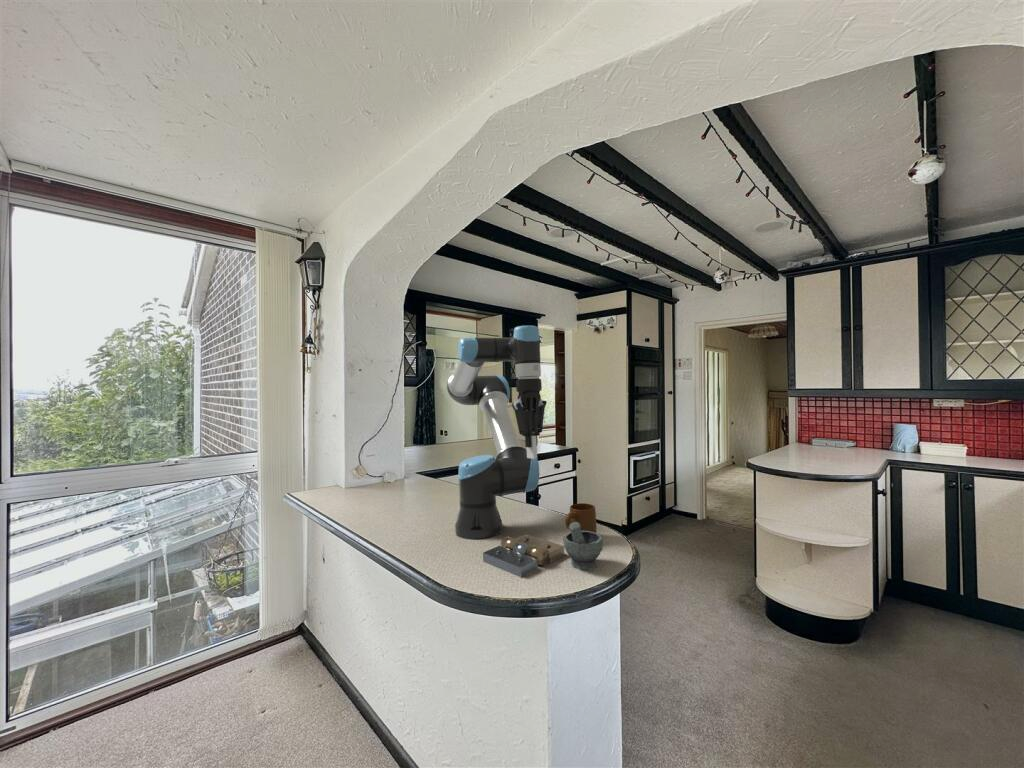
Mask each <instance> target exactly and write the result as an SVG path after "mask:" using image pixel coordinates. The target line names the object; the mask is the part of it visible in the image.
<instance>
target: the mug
mask: <svg viewBox="0 0 1024 768" xmlns="http://www.w3.org/2000/svg"><path fill="white" fill-rule="evenodd" d="M573 522H578V523H579V524H580V526H581V528H580V529H581V531H591V532H595V533H598V532H597V513H596V506H595V505H594V504H590V503H586V502H585V503H582V502H581V503H580V502H579V503H575V504H574V503H573V504H571V505H570V506H569V512H568V513H567V514H566V516H565V518H564V524H565V527H566V528H567V530H569V531H570V529H569V526H570V524H571V523H573Z"/></svg>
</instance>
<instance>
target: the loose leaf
mask: <svg viewBox="0 0 1024 768" xmlns="http://www.w3.org/2000/svg"><path fill="white" fill-rule="evenodd" d="M529 546H530V545H528V544H525V543H521V542H517V543H516V544H515V545H514V547H513V550H510V549H508V548H505V547H502V546H501V545H498V546H495V547H493V548H491V549H488V550H486V551H483V552H482V561H483V563H486V564H488V565H490V566H492V567H495V568H497V569H500V570H502V571H505V572H507V573H510V574H512V575H514V576H516V577H519V578H523V577H526V576H527V575H529V574H531V573H533V572H535V571H537V570H539V564H538V559H536V558H533V557H530V556H527V555H526V551H527V549H528V547H529Z"/></svg>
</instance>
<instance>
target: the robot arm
mask: <svg viewBox="0 0 1024 768" xmlns="http://www.w3.org/2000/svg"><path fill="white" fill-rule="evenodd" d="M540 341H541V337H540V330H539V328H538V326H536V325H519V326H515V327H514V329H513V337H474V336H471V337H463V338H460V339H459V340H458V345H457V355H458V359H459V362H458V363H457V364H458V365H457V367H456V368H455V371H454V373H453V374H451V376H450V377H449V378H448V381H447V383H446V389H447V393H448V395H449V396H450V398H451V399H452V400H454V401H455V402H456V403H458V404H460V405H463V406H479V407H478V408H479V410H480V411H481V412H483V413H485V417H486V420H487V424H488V426H489V429H490V433H491V437H492V440H493V443H494V447H495V451H496V453H497V454H496V456H495V457H494V455H492V454H485V455H476V456H473V457H469V458H466V459H464V460H463V461H461V462H460V463H459V465H458V475H457V478H458V490H459V491H458V492H459V494H458V495H459V510H458V513H457V519H456V523H455V524H454V526H455V527H454V531H455V532H454V533H455V534H456V536H458V537H460V538H464V539H470V540H471V539H472V540H474V539H477V540H478V539H486V538H491V537H494V536H496V535H498V534H500V533H501V532H503V529H504V528H503V520H502V519H501V515H500V512H499V510H498V507H497V497H498V496H504V495H505V496H506V495H511V494H512V495H513V494H520V493H521V494H522V493H523V494H525V493H527V492H533V491H535V490H536V489H537V487H538V486H539V483H540V482H539V481H540V464H539V460H538V448H537V447H538V436H539V437H540V436H541V433H542V432H543V425H544V419H545V416H544V415H545V410H546V407H547V400H543V399H542V397H541V394H540V392H541V391H542V386H543V385H542V378H540V377H542V370H541V369H542V368H541V345H540V344H541V342H540ZM488 362H492V363H493V362H494V363H495V362H510V363H515V365H514V366H515V367H514V368H515V378H516V380H515V384H516V386H515V387H516V388H515V389H516V392H517V393H518V395H517V400H516V401H515V402H512V403H511V406H512V409H513V410H514V414H515V418H516V423H517V429H518V433H519V435H521V436H522V437H524V439H525V440H524V444H525V447H524V446H521V442H520V439H519V437H518V435H517V432H516V429H515V426H514V422H513V421H512V418H511V415H510V413H509V410H508V407H507V404H508V402H509V401H510V398H511V390H510V386H509V382H508V381H507V379H506V378H505V376H503V375H497V374H492V375H479V373H480V371H481V369H482V368H483V365H484V364H485V363H488Z"/></svg>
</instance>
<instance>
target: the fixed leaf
mask: <svg viewBox="0 0 1024 768" xmlns="http://www.w3.org/2000/svg"><path fill="white" fill-rule="evenodd" d="M517 542H521V543H525V544H528V545H530V546H529V547H528V549H527V551H526V555H527V556H530V557H533V558H536V559H538V566H546V565H547V564H548V563H552V562H554V561H556V560H557V559H560V558H562V557H563V556H565V548H564V544H563V545H561V544H559V543H555V542H553V541H549V540H547V539H546V540H545V539H543V538H540V537H537V536H533V535H531V534H523V535H520V536H518V537H516V538H513V537H510V536H505V537H504V538H502V540H501V543H500V546H502V547H505V548H508V549H510V550H513V547H514V545H515V544H516V543H517Z"/></svg>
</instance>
